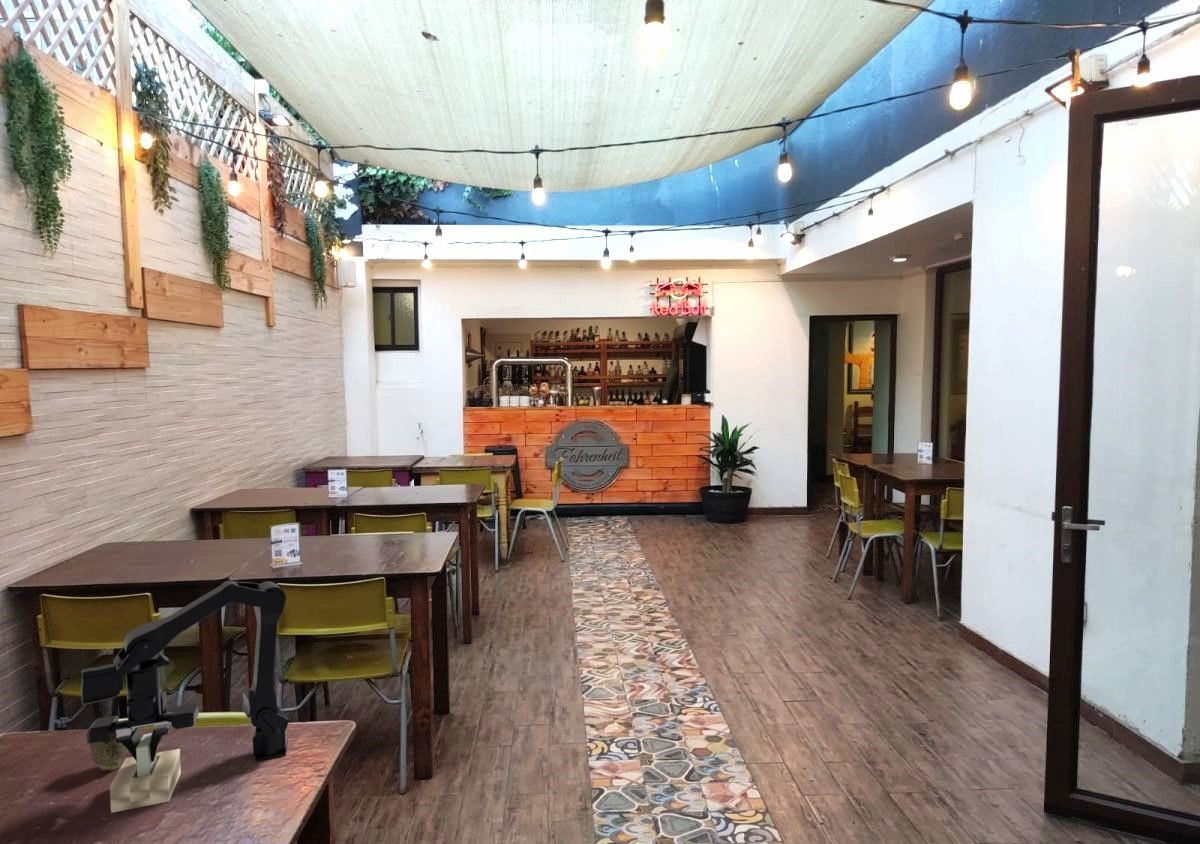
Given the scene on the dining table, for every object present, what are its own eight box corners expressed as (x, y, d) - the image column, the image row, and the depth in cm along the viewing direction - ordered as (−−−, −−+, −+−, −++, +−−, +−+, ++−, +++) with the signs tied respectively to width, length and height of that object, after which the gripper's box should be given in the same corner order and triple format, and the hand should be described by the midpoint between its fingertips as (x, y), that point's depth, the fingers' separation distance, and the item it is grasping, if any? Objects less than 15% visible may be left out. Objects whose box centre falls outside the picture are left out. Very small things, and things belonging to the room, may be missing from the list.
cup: (109, 779, 145) (107, 743, 145) (81, 775, 147) (79, 740, 147) (139, 760, 153) (137, 726, 152) (112, 757, 154) (111, 723, 154)
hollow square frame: (180, 772, 148) (179, 748, 148) (169, 801, 138) (168, 775, 137) (127, 782, 144) (126, 758, 144) (111, 812, 134) (109, 786, 134)
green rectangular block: (156, 768, 144) (155, 732, 144) (149, 783, 139) (147, 746, 138) (145, 770, 143) (143, 734, 143) (137, 786, 138) (135, 748, 137)
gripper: (201, 667, 151) (204, 734, 152) (102, 681, 144) (105, 751, 145) (191, 688, 140) (194, 760, 141) (84, 704, 134) (87, 779, 134)
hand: (146, 762), depth 141 cm, fingers closed on green rectangular block, 2 cm apart
